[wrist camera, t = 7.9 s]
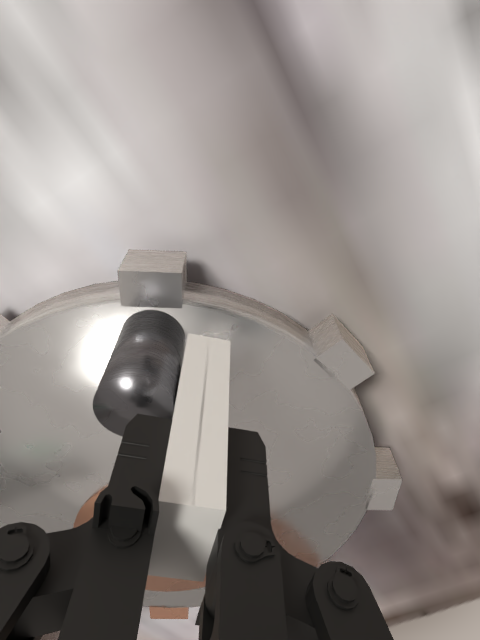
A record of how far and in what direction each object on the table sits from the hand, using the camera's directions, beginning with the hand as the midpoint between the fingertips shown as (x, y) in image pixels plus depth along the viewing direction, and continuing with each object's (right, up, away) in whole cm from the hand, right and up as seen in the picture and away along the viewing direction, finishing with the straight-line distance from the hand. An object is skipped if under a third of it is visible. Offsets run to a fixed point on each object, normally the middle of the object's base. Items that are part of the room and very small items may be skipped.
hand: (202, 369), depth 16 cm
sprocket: (-2, -5, +8) cm, 10 cm away
